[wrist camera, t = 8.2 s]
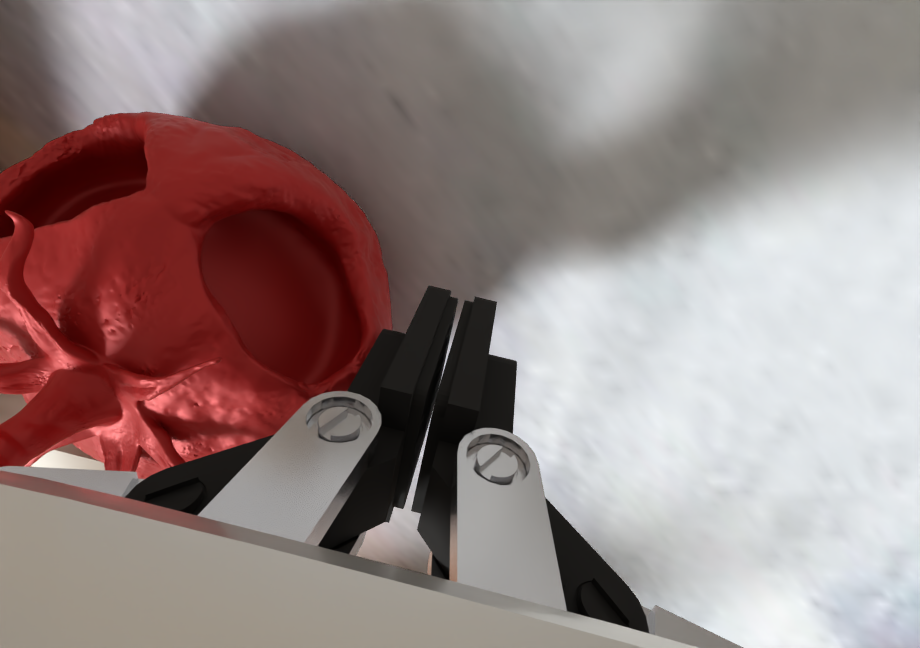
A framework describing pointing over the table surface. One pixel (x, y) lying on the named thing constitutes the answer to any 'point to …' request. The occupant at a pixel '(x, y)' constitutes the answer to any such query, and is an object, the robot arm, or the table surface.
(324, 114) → the table surface
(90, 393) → the pomegranate
